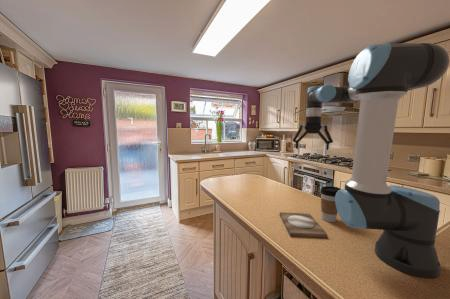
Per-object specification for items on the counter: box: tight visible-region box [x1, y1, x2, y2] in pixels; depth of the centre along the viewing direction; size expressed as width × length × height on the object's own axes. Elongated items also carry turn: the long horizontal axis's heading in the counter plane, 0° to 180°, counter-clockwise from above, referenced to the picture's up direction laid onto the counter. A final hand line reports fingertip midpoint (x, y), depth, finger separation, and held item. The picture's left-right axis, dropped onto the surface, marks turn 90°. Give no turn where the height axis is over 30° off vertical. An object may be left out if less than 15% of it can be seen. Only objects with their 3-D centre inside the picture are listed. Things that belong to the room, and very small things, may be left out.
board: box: [279, 211, 328, 239], centre depth 82 cm, size 18×14×2 cm
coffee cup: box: [319, 185, 341, 223], centre depth 88 cm, size 8×8×15 cm
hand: (311, 155), depth 105 cm, fingers open, 13 cm apart
